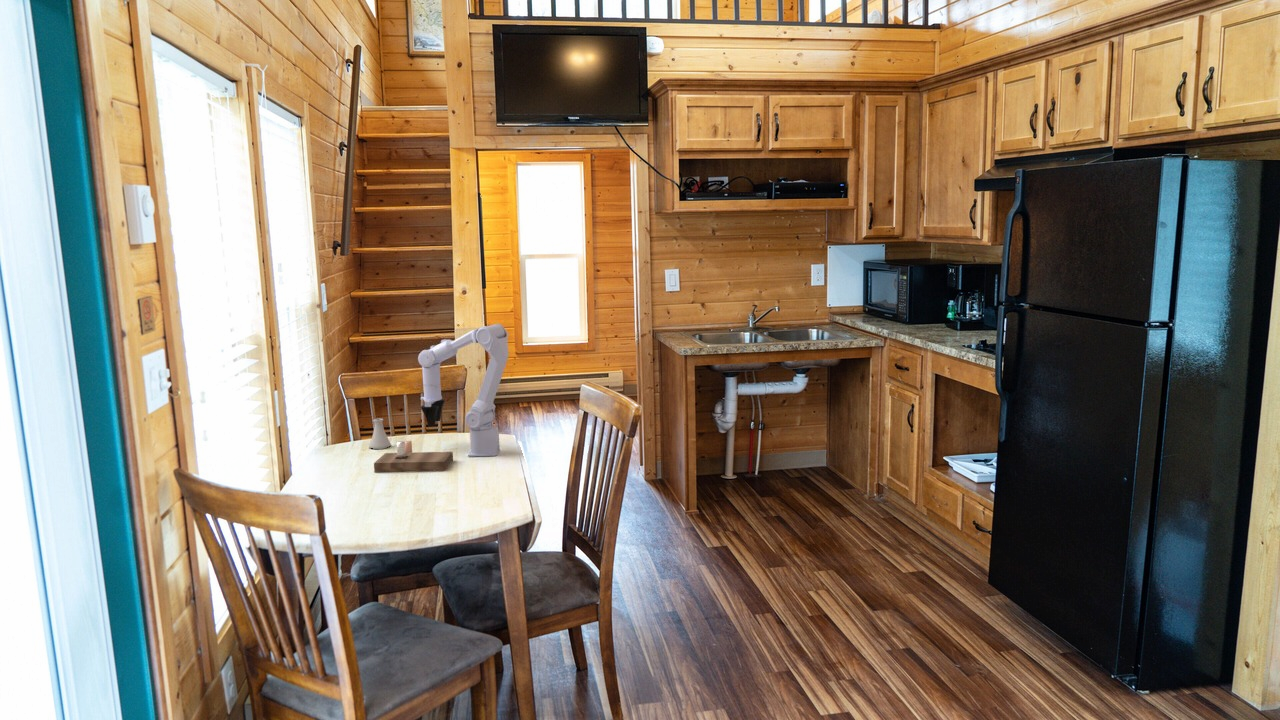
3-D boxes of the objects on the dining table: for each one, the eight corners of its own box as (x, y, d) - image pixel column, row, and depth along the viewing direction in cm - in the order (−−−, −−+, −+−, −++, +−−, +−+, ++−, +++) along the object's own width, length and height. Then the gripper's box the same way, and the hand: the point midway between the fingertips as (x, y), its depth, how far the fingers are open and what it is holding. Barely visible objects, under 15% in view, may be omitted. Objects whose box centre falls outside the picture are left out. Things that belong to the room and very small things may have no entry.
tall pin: (406, 465, 269) (405, 441, 267) (405, 467, 266) (403, 443, 265) (399, 465, 268) (397, 441, 267) (397, 467, 266) (395, 443, 265)
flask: (365, 449, 291) (363, 421, 289) (377, 444, 297) (375, 416, 296) (383, 450, 289) (381, 422, 287) (395, 445, 295) (393, 417, 294)
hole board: (453, 460, 273) (452, 451, 273) (444, 470, 261) (444, 461, 261) (385, 462, 273) (385, 453, 273) (374, 472, 261) (373, 463, 261)
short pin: (413, 453, 283) (412, 440, 283) (411, 455, 281) (410, 442, 280) (406, 453, 283) (405, 440, 283) (404, 455, 281) (403, 442, 280)
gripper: (425, 380, 291) (427, 419, 293) (414, 388, 276) (417, 428, 278) (445, 380, 291) (447, 418, 293) (435, 388, 276) (438, 428, 278)
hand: (434, 423), depth 286 cm, fingers open, 7 cm apart
